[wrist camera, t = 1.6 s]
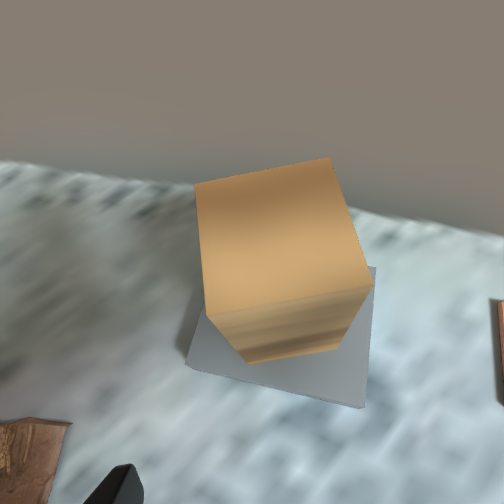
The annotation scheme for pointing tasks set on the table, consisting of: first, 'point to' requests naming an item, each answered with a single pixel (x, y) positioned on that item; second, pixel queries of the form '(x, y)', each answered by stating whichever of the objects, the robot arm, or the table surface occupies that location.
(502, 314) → the terracotta mat
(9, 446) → the wooden fragment
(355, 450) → the table surface
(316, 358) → the slate ledge
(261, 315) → the oak block
